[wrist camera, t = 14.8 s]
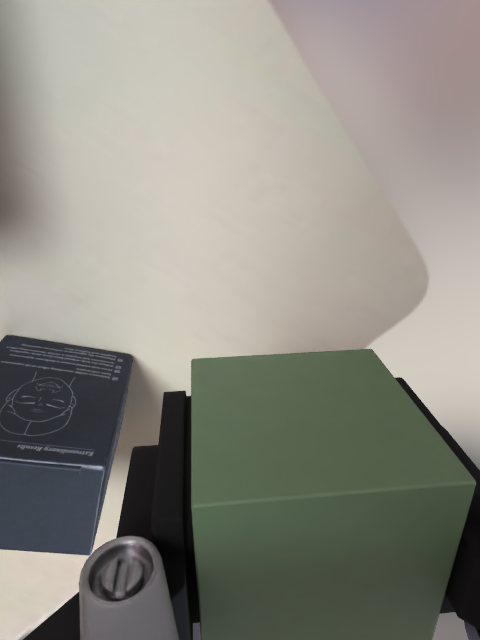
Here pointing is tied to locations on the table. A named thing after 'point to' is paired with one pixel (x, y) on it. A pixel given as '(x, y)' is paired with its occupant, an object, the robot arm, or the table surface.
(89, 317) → the table surface
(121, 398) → the box
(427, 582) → the block
